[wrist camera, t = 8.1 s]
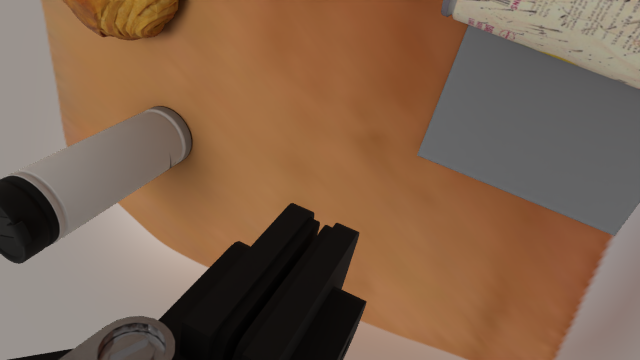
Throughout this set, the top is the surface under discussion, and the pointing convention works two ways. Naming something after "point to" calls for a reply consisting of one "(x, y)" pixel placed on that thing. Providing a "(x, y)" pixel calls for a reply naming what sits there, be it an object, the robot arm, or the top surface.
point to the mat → (539, 130)
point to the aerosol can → (564, 30)
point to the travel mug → (86, 180)
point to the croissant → (124, 16)
